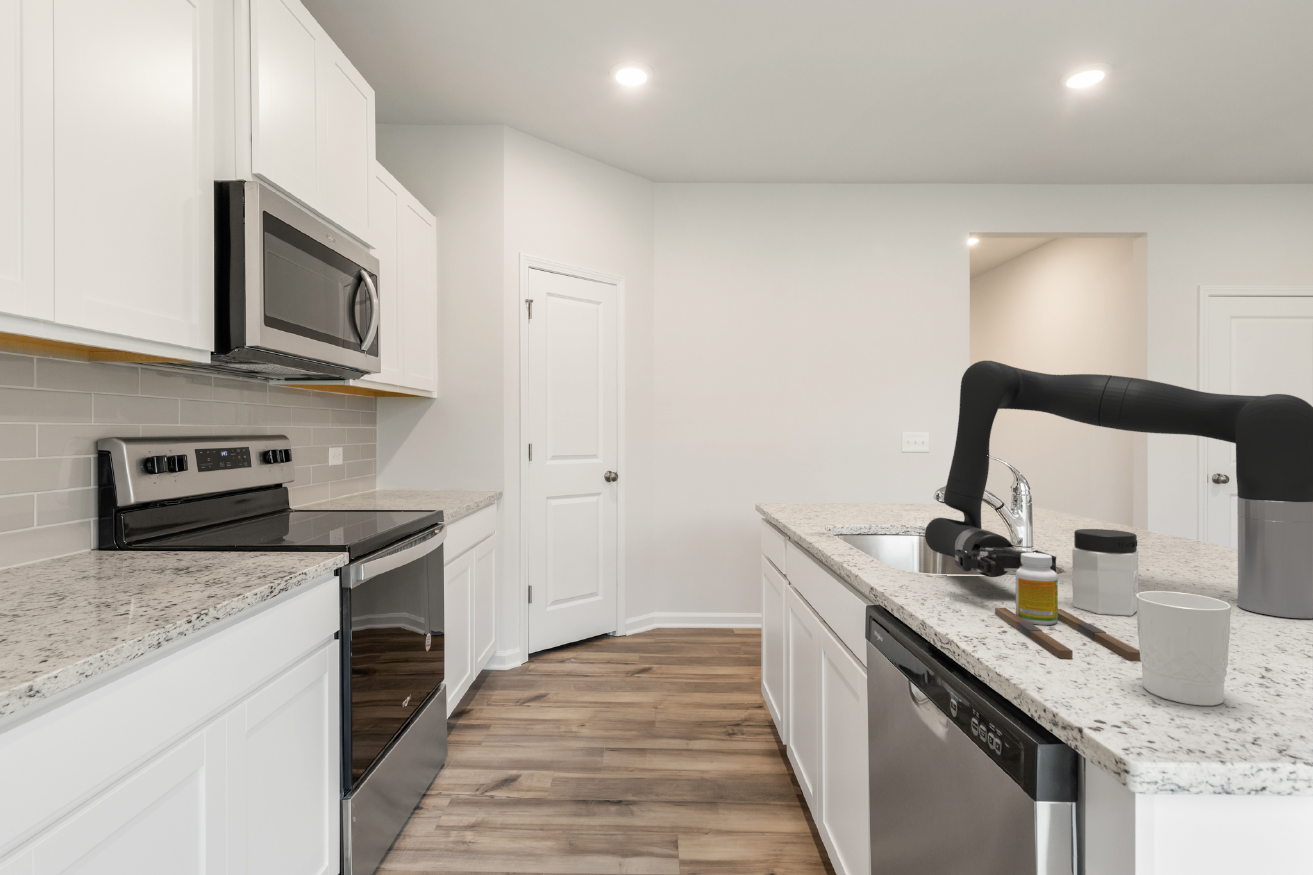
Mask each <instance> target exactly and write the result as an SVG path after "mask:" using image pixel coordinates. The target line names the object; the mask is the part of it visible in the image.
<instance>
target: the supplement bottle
mask: <svg viewBox="0 0 1313 875" xmlns="http://www.w3.org/2000/svg"><path fill="white" fill-rule="evenodd" d="M1047 554H1048V553H1046V554H1041V553H1033V552H1032V553H1022V554H1021V563H1022V564H1023V565H1022V566H1021V567H1020V568H1019V569H1017V571H1015V614H1016V615H1017V616H1019V617H1021V618H1022V619H1024V620H1025V621H1027V622H1030V623H1031V624H1033V625H1036V626H1038V625H1040V626H1051V625H1052V626H1053V625H1055V624H1057V623H1058V622H1059V620H1058V609H1059V607H1058V606H1059V604H1058V603H1059V602H1058V601H1059V597H1058V596H1059V593H1058V590H1059V588H1058V586H1059V585H1058V581H1059V580H1058V579H1059V578H1058V574H1057V571H1056V572H1055V571H1053V570H1051V569H1050V566H1052V556H1053V555H1052V556H1050V555H1051V554H1049V555H1047Z"/></svg>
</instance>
